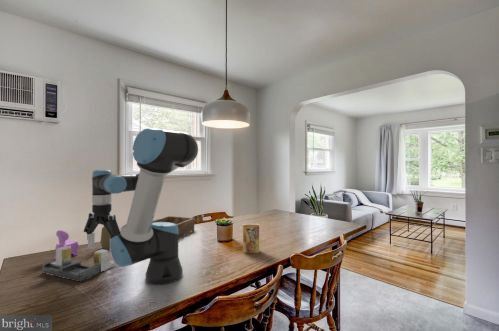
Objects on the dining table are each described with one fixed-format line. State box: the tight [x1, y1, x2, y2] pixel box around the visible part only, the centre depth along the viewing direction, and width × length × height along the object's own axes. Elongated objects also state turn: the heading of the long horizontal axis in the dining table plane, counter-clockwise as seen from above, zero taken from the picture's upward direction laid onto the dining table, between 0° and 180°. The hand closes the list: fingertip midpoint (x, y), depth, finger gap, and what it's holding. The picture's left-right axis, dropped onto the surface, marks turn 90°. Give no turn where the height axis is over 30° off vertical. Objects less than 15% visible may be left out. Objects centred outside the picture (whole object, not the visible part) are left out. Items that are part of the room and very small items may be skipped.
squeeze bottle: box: [100, 222, 114, 250], centre depth 139 cm, size 8×8×18 cm
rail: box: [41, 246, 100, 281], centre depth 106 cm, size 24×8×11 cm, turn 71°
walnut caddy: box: [152, 215, 195, 239], centre depth 164 cm, size 22×31×9 cm
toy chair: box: [53, 229, 79, 259], centre depth 125 cm, size 8×9×15 cm
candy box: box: [242, 223, 260, 254], centre depth 133 cm, size 9×4×15 cm, turn 92°
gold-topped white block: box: [93, 248, 117, 273], centre depth 111 cm, size 8×4×9 cm, turn 161°
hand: (101, 249), depth 110 cm, fingers open, 13 cm apart
